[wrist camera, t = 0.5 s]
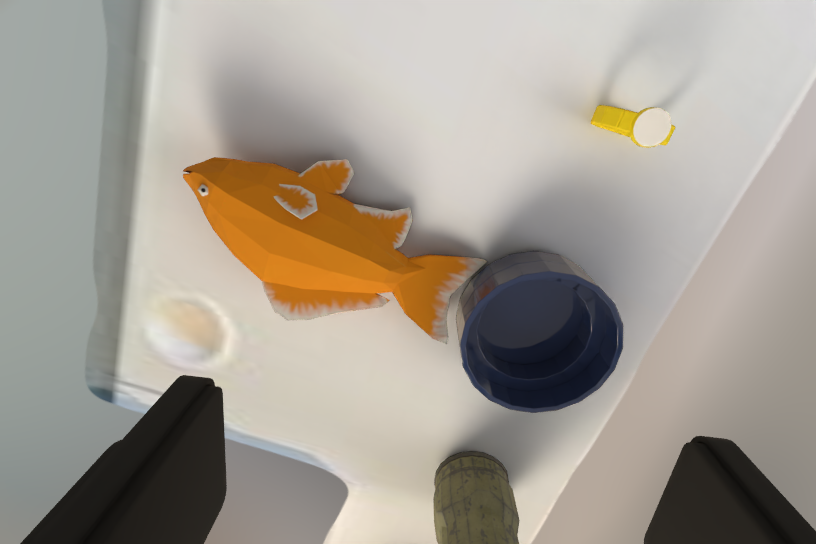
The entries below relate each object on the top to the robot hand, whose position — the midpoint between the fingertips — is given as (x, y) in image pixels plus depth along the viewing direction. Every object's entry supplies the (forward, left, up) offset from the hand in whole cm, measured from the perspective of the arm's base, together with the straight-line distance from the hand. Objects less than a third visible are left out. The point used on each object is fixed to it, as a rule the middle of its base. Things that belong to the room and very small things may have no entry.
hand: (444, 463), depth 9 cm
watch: (-8, +15, -33) cm, 37 cm away
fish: (+6, -7, -33) cm, 35 cm away
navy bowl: (+11, +12, -33) cm, 37 cm away
